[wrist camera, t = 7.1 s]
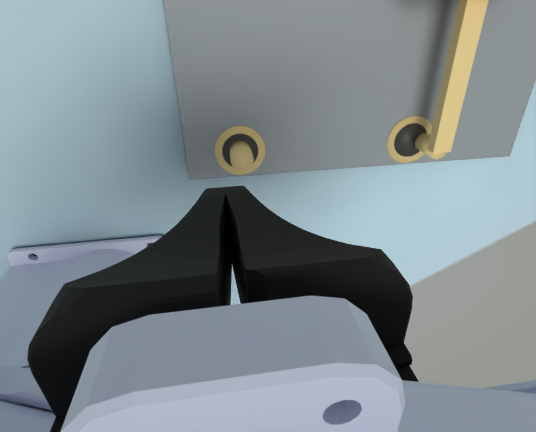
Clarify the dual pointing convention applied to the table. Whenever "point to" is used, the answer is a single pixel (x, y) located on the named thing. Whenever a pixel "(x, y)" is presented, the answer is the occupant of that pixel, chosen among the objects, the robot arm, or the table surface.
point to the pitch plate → (339, 82)
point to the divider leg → (454, 78)
